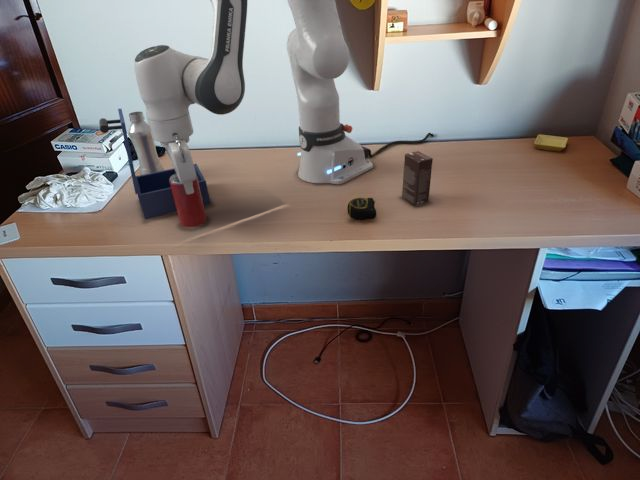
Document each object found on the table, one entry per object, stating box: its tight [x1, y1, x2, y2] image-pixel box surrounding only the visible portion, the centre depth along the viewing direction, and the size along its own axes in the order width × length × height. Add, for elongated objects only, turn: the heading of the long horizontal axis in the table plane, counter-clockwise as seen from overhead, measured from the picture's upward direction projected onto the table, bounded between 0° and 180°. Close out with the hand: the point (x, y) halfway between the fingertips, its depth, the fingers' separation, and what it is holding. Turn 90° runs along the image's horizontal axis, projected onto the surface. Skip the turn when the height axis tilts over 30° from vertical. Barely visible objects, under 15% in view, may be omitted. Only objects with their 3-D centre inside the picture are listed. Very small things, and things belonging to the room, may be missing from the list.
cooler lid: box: [98, 108, 139, 195], centre depth 108 cm, size 17×13×5 cm
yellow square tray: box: [533, 133, 569, 152], centre depth 138 cm, size 9×9×2 cm
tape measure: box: [346, 197, 377, 222], centre depth 108 cm, size 7×7×4 cm
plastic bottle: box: [128, 111, 165, 175], centre depth 128 cm, size 6×7×20 cm
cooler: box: [135, 163, 211, 220], centre depth 118 cm, size 17×13×7 cm
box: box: [401, 150, 434, 207], centre depth 111 cm, size 6×4×12 cm
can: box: [169, 174, 207, 228], centre depth 107 cm, size 6×6×12 cm
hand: (186, 184), depth 105 cm, fingers open, 8 cm apart
